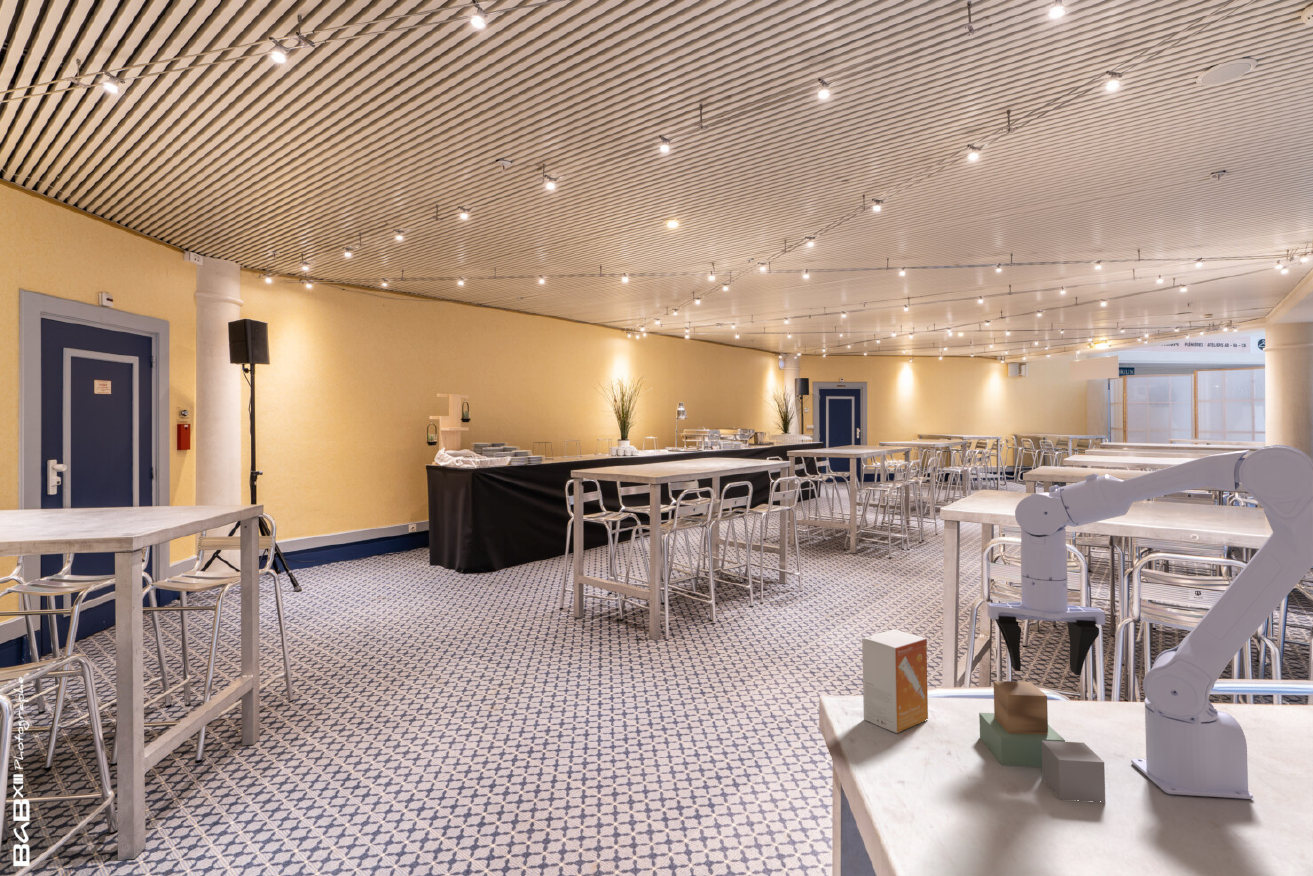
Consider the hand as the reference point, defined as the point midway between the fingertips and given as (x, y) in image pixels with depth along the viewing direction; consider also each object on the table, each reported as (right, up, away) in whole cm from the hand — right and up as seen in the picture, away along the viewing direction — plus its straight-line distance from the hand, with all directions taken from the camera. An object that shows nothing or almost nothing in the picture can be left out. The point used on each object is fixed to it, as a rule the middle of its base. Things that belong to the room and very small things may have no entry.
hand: (1045, 670), depth 92 cm
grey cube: (-4, -11, -12) cm, 17 cm away
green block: (-5, -11, -3) cm, 12 cm away
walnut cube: (-5, -7, -3) cm, 9 cm away
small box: (-18, -11, +8) cm, 23 cm away
